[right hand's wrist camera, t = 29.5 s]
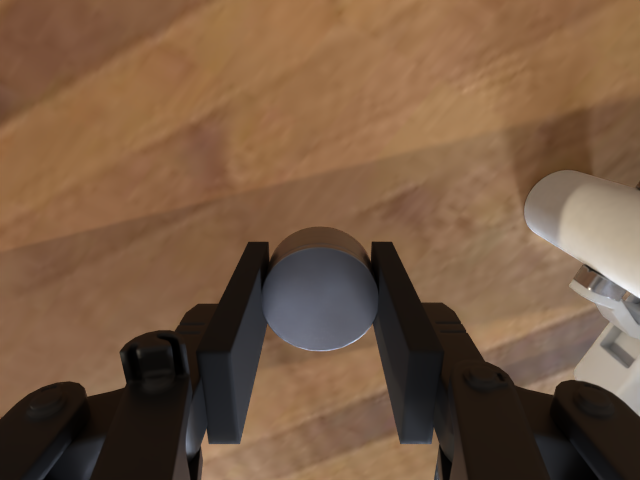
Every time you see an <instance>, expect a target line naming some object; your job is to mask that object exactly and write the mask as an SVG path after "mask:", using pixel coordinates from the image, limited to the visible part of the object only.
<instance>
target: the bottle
mask: <svg viewBox="0 0 640 480" xmlns="http://www.w3.org/2000/svg"><path fill="white" fill-rule="evenodd" d="M524 215H525V220H526V223H527V225H528V226H529V228H530V229H531V230H532V231H533V232H534V233H536V234H537V235H539V236H541V237H542V238H544V239H545V240H547V241H549V242H550V243H552V244H553V245H555V246H557V247H558V248H560V249H561V250H563V251H565V252H566V253H568V254H569V255H571V256H573V257H574V258H576V259H577V260H579V261H581V262H582V263H584V264H585V265H587V266H589V267H590V268H592V269H594V270H595V271H597V272H598V273H600V274H602V275H603V276H605V277H606V278H608V279H609V280H611V281H613V282H614V283H616V284H617V285H619V286H621V287H622V288H624V289H625V290H627V291H629V292H630V293H632V294H633V295H635V296H637V297H638V298H640V189H637V188H634V187H631V186H627V185H624V184H620V183H617V182H613V181H610V180H606V179H603V178H599V177H596V176H592V175H589V174H585V173H582V172H578V171H574V170H562V171H557V172H554V173H552V174H550V175H548V176H546V177H544V178H543V179H541V180H540V181H539V182H538V183H537V184H536V185H535V186H534V187H533V188H532V190H531V191H530V193H529V195H528V197H527V199H526V202H525V207H524Z"/></svg>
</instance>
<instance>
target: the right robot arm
mask: <svg viewBox="0 0 640 480" xmlns="http://www.w3.org/2000/svg"><path fill="white" fill-rule="evenodd" d="M268 266H269V243H268V242H248V244H247V246H246V248H245V250H244V252H243V254H242V256H241V258H240V260H239V263H238V265H237V267H236V269H235V271H234V273H233V275H232V277H231V279H230V281H229V283H228V285H227V287H226V290H225V292H224V294H223V296H222V298H221V300H220V302H219V304H197V305H196V306H195V307H193V308H192V309H191V310H189V311H188V312H186V314H185V315H184V317H183V319H182V320H181V322H180V325H178V327H177V328H176V330H175V332H174V331H170V330H158V331H153V332H149V333H145V334H143V335H140V336H138V337H135V338H134V339H132V340H131V341H129V342H128V343H127V344H125V345H124V347H123V348H122V349H121V351H120V356H121V361H122V365H123V370H124V374H125V378H126V383H127V384H126V386H125V388H122V389H118V390H115V391H111V392H107V393H102V394H98V395H93V396H89V397H87V395H86V391H85V388H84V387H83V386H81V385H80V384H79V383H75V382H70V381H69V382H59V383H54V384H51V385H48V386H45V387H42V388H40V389H38V390H36V391H34V392H32V393H30V394H28V395H27V396H26V397H24V398H23V399H22V400H20V401H19V402H18V403H17V404H16V405H15V406H14V407H13V408H11V409H10V410H9V411H8V412H7V413H6V414H5V415H4V416H3V417H2V418H1V419H0V480H201V475H202V464H203V458H202V451H201V443H202V440H203V437H204V434H205V431H206V428H207V434H208V441H209V444H240V441H241V437H242V433H243V428H244V424H245V419H246V415H247V411H248V406H249V402H250V397H251V393H252V389H253V384H254V380H255V376H256V371H257V367H258V362H259V358H260V354H261V349H262V345H263V341H264V336H265V332H266V327H267V321H266V319H265V317H264V315H263V310H262V294H261V291H262V286H263V283H264V279H265V276H266V273H267V269H268ZM371 266H372V269H373V272H374V276H375V279H376V282H377V286H378V289H379V298H378V312H377V315H376V317H375V319H374V321H373V326H374V331H375V335H376V339H377V344H378V348H379V353H380V357H381V361H382V366H383V370H384V375H385V379H386V383H387V388H388V392H389V396H390V401H391V405H392V410H393V414H394V418H395V423H396V427H397V431H398V436H399V440H400V444H431V443H432V436H433V429H435V431H436V434H437V437H438V440H439V443H440V444H439V451H438V457H437V464H436V470H435V477H434V480H640V416H638V415H637V414H636V413H635V412H634V411H633V410H632V409H631V408H630V407H629V406H628V405H627V404H626V403H625V402H624V401H623V400H621V399H620V398H619V397H617V396H616V395H615V394H613V393H612V392H610V391H608V390H606V389H604V388H602V387H600V386H598V385H595V384H592V383H588V382H585V381H577V380H568V381H563V382H561V383H560V384H559V385H558V386H556V389H555V392H554V395H550V394H545V393H541V392H536V391H532V390H527V389H524V388H520V387H517V386H515V385H514V383H513V381H512V380H511V378H510V377H509V375H508V374H507V373H505V372H504V371H503V370H501V369H500V368H499V367H497V366H495V365H493V364H490V363H488V362H485V361H484V359H483V357H482V356H481V354H480V352H479V351H478V349H477V348H476V346H475V344H474V343H473V341H472V339H471V338H470V336H469V335H468V333H466V330H465V328H464V326H463V325H462V324H461V322H460V320H459V318H458V317H457V315H456V313H455V312H454V311H453V310H452V309H450V308H449V307H447V306H446V305H445V304H443V303H421V301H420V299H419V297H418V295H417V293H416V291H415V289H414V287H413V285H412V283H411V281H410V279H409V277H408V274H407V272H406V270H405V268H404V266H403V264H402V262H401V260H400V258H399V256H398V254H397V252H396V250H395V247H394V245H393V243H392V242H372V248H371Z"/></svg>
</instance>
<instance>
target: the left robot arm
mask: <svg viewBox="0 0 640 480" xmlns="http://www.w3.org/2000/svg"><path fill="white" fill-rule="evenodd" d="M636 188H637V189H640V181H639V183H638V184H637V186H636ZM569 287H570V288H571V289H573V290H574V291H575V292H577V293H578V294H579V295H581V296H582V297H584V298H586V299H588V300H590V301H592V302H594V303H595V304H596V306H597V308H598V309H599V311H600V313H601V314H602V316H603V317H605V318H606V319H607V320H609V321H610V322H609V323H608V325H607V326H606V327H605V329H604V330H603V331H602V333H601V334H600V335H599V337H598V338H597V339H596V341H595V342H594V344H593V345H592V346H591V348H590V349H589V350H588V352H587V353H586V354H585V356H584V357H583V358H582V360H581V361H580V362H579V363H578V365H577V366H576V368H575V369H574V377H575V379H576V380H577V381H585V382H588V383H592V384H595V385H598V386H600V387H602V388H604V389H606V390H608V391H610V392H612V393H613V394H615V395H616V396H617V397H619V398H620V399H621V400H623V401H624V402H625V403H626V404H627V405H628V406H629V407H630V408H631V409H632V410H633V411H634V412H635V413H636V414H637V415H638V416H640V298H638V297H637V296H635V295H633V294H632V293H631V294H630V295H629V297H628V298H627V299H626V300H623V299H621V298H622V297H623V295H624V294H625V292H626V291H627V290H625V289H624V288H622V287H621V286H619V285H617V284H616V283H614V282H613V281H611V280H609V279H608V278H606V277H605V276H603V275H602V274H600V273H598V272H597V271H595V270H594V269H592V268H590V267H589V266H587V265H584V264H583V265H582V267H581V268H580V270H579V271H578V273H577V274H576V275H575V277H574V278H573V280H572V281H571V283H570V284H569Z"/></svg>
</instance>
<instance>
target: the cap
mask: <svg viewBox="0 0 640 480" xmlns="http://www.w3.org/2000/svg"><path fill="white" fill-rule="evenodd" d="M261 294H262V310H263V315H264V317H265V319H266V321H267V323H268V325H269V326H270V327H271V329H272V330H273V331H274V332H275V333H276V334H277V335H278V336H279V337H280V338H282V339H283V340H284V341H286V342H288V343H289V344H291V345H294V346H296V347H299V348H302V349H306V350H311V351H328V350H334V349H338V348H342V347H344V346H347V345H349V344H351V343H353V342H354V341H356V340H357V339H359V338H360V337H361V336H362V335H363V334H364V333H365V332H366V331H367V330H368V329H369V328H370V326H371V325H372V323H373V321H374V319H375V317H376V315H377V312H378V298H379V289H378V286H377V282H376V279H375V276H374V272H373V269H372V266H371V262H370V259H369V257H368V255H367V253H366V251H365V249H364V248H363V247H362V245H361V244H360V243H359V242H358V241H357V240H356V239H355V238H353V237H352V236H350V235H349V234H347V233H345V232H343V231H340V230H337V229H334V228H329V227H311V228H306V229H303V230H300V231H297V232H295V233H293V234H292V235H290V236H288V237H287V238H286V239H285V240H283V241H282V242H281V243H280V244H279V245H278V247H277V248H276V250H275V251H274V253H273V255H272V257H271V260H270V262H269V266H268V269H267V273H266V276H265V279H264V283H263V286H262V291H261Z"/></svg>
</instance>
